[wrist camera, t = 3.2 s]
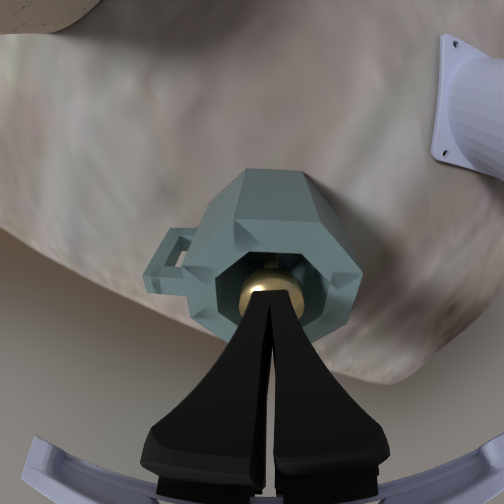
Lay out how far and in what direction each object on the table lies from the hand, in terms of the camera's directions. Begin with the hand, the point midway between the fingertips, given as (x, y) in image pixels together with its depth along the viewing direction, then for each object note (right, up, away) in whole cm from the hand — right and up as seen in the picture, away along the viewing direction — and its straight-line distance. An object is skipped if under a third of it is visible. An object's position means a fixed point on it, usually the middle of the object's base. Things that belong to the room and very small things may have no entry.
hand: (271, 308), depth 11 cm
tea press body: (-1, +4, +6) cm, 7 cm away
